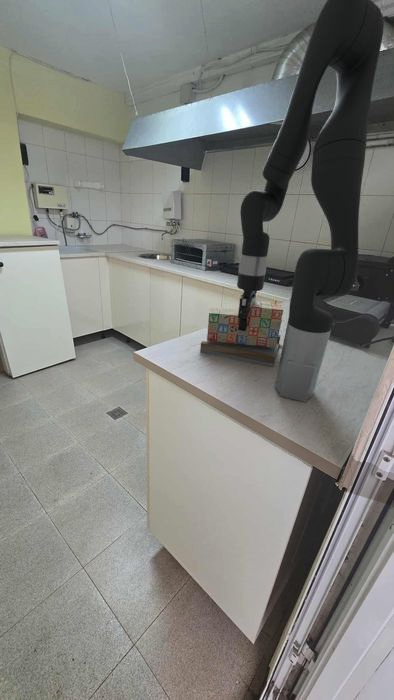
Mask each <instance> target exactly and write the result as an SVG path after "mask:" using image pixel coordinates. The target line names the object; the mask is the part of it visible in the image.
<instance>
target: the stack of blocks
mask: <svg viewBox="0 0 394 700" xmlns="http://www.w3.org/2000/svg"><path fill="white" fill-rule="evenodd" d="M248 308H250V306H249V307H248ZM238 312H239V308H238V309H237V308H228V307H217V306H216V307H215V306H209V312H208V324H207V336H206V341H207V340H208V341H217V342H227V343H235V344H236V343H237V344H247V345H256V346H264V347H273V348H276V345H277V340H278V335H280V330H281V327H282V321H283V313H284V308H283V306H282V304H281V303H279V302H278V303H277V302H271V301H263V300H261V301H258V300H257V301H256V300H255V303H253V305H252V309H251V312H249V316H248V320H247V327H246V331H240V330H239V329H238V328H239V320H240V318H238ZM242 314H243V315H245V311H242Z"/></svg>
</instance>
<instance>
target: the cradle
mask: <svg viewBox="0 0 394 700" xmlns="http://www.w3.org/2000/svg"><path fill="white" fill-rule="evenodd" d="M281 336H282V335H281V334H279V335H278V340H277V345H276V348H273V347H264V346H256V345H247V344H237V343H236V344H235V343H227V342H217V341H208V340H207V339H206V341H205V340H202V341H201V342H200V348H199V349H200V350H199V352H200V353H204V354H209V355H213V356H219V357H223V358H228V359H232V360H237V361H242V362H247V363H250V364H251V363H253V364H256V365H257V364H258V365H262V366H267V367H272V368H274V367H275V363H276V357H277V353H278V348H279V345H280V341H281Z"/></svg>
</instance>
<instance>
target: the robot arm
mask: <svg viewBox="0 0 394 700" xmlns="http://www.w3.org/2000/svg"><path fill="white" fill-rule="evenodd" d="M384 25H385V24H384V15H383V13H382V10H381V9H380V7H379V6H378V5H377V4H375V2H374V1H372V0H326V2H325V4H324V5H323V7H322V9H321V11H320V12H319V15H318V17H317V19H316V21H315V24H314V27H313V28H312V31H311V35H310V37H309V40H308V42H307V45H306V50H305V51H304V56H303V59H302V61H301V65H300V66H299V70H298V74H297V77H296V79H295V84H294V86H293V90H292V93H291V96H290V99H289V103H288V105H287V106H288V107H287V109H286V112H285V115H284V117H283V121H282V124H281V126H280V129H279V131H278V133H277V136H276V139H275V141H274V143H273V145H272V148H271V150H270V152H269V154H268V156H267V158H266V161H265V163H264V165H263V168H262V176H263V178H264V179H265V180H266V182H265V187H264V189H263V190H257V189H255V190H253V189H252V190H250V191H249V192H247V193H246V194H245V196H244V198H242V202H241V205H240V223H241V231H242V238H243V239H242V246H241V255H240V259H239V264H238V274H237V283H236V287H237V288H238V289H239V290H241V291H243V293H242V294H241V295H240V298H239V306H238V309H239V312H238V318H240V320H239V328H238V329H239V330H240V331H246V327H247V320H248V316H249V312H251V309H252V305H253V303H255V301H256V300H257V292H259V291H262V290H263V289H264V284H265V278H266V271H267V266H268V265H267V264H268V253H269V245H270V235H269V234H268V233H267V232H265V231H264V223H266V222H270V221H272V220H274V219H275V218H276V217H277V215H278V214H279V213H280V211H281V210H282V207H283V204H284V201H285V198H286V196H287V195H286V194H287V191H288V189H289V184H290V180H291V179H292V177H293V176H294V173H295V171H296V169H297V168H298V165H299V164H300V161H301V159H302V157H303V156H304V153H305V151H306V148H307V145H308V141H309V137H310V131H311V126H312V125H311V124H312V115H313V108H314V103H315V99H316V96H317V91H318V88H319V87H320V86H319V85H320V83H321V80H322V78H323V76H324V74H325V72H326V70H327V69H330V70H332V71H333V72H334V73H335V74H336V95H335V103H334V107H333V109H332V112H331V114H330V116H328V119H327V120H326V121H325V123H324V125H323V126H322V128H321V130H320V132H319V133H318V135H317V138H316V140H315V142H314V147H313V150H312V151H313V153H312V161H311V174H310V176H311V177H310V182H311V188H312V191H313V193H314V196H315V198H316V200H317V202H318V204H319V206H320V208H321V210H322V213H323V214H324V217H325V218H326V220H327V223H328V227H329V231H330V249H329V248H327V249H326V248H307V249H305V250H304V251H302V252H301V253H300V254H299V257H298V259H297V262H296V265H295V268H294V275H293V276H294V277H293V282H292V289H291V295H290V296H291V297H290V301H289V311H288V312H289V313H288V319H287V323H286V324H287V325H286V330H285V334H284V339H283V343H282V347H281V348H282V349H281V352H280V358H279V362H278V367H277V373H276V378H275V383H274V388H275V390H276V391H277V392H278V393H279V395H278V396H279V397H282V398H287V399H292V400H296V401H300V402H304V403H307V401H308V399H311V398H312V397H313V395H314V393H315V388H316V385H317V381H318V378H319V374H320V371H321V367H322V364H323V360H324V357H325V352H326V349H327V346H328V343H329V338H330V336H331V332H332V329H333V326H334V325H333V324H334V320H335V318H334V316H333V314H331V313H330V312H329V311H327V310H325V309H322V308H320V307H317V306H316V305H315V298H316V296H317V297H344V296H346V295H347V294H349V293H350V292H351V290H352V289H353V287H354V285H355V282H356V279H357V275H358V267H359V220H360V217H359V216H360V203H361V192H362V184H363V175H364V168H365V161H366V152H367V150H366V149H367V137H368V125H369V118H370V110H371V109H370V108H371V101H372V92H373V86H374V81H375V75H376V71H377V66H378V61H379V57H380V52H381V48H382V42H383V35H384ZM249 306H250V308H248V307H249ZM242 311H245V315H243V314H242Z"/></svg>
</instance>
